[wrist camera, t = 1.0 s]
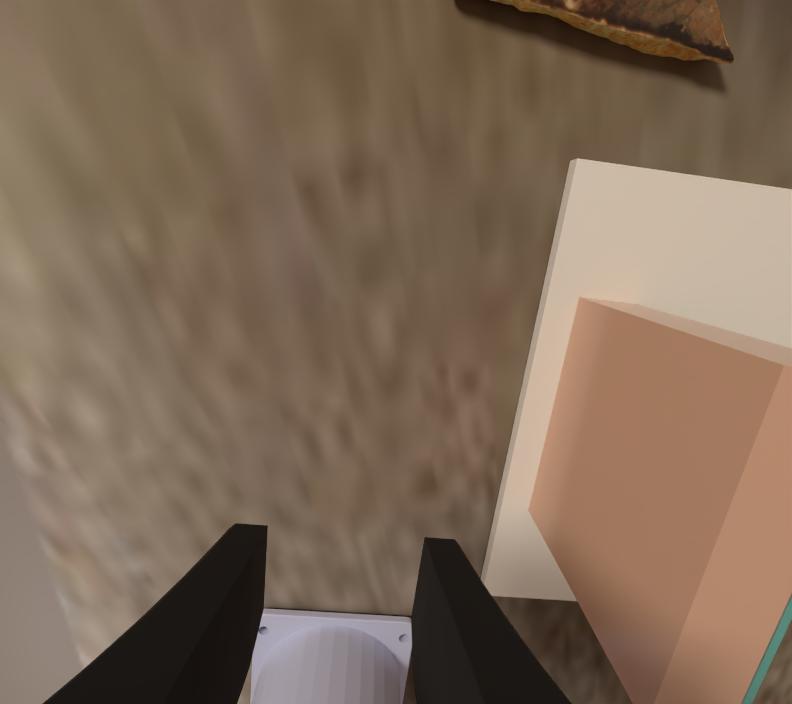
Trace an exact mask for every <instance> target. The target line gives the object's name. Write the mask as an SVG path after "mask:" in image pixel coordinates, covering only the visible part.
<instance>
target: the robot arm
mask: <svg viewBox="0 0 792 704" xmlns="http://www.w3.org/2000/svg"><path fill="white" fill-rule="evenodd" d="M267 527H268V526H264V525H250V524H234V525H233V526H232V527H230V528H229V529H228V530H227V531H226V533H225V534H224V535H223V536H222V537H221V538H220V539H219V540H218V541H217V542H216V543H215V544H214V546H213V547H212V548H211V549H210V550H209V551H208V552H207V553H206V554H205V555H204V556H203V557H202V558H201V559H200V560H199V561H198V562H197V563H196V564H195V565H194V566H193V567H192V568H191V569H190V571H189V572H188V573H187V574H186V575H185V576H184V577H183V578H182V579H181V580H180V581H179V582H178V583H177V584H176V585H174V586H173V587H172V588H171V589H170V590H169V591H168V592H167V593H166V594H165V595H164V596H163V597H162V598H161V599H160V600H159V601H158V602H157V603H156V604H155V605H154V606H153V607H152V608H151V609H150V610H149V611H148V612H147V613H146V614H145V615H144V616H142V617H141V618H140V619H139V620H138V621H137V622H136V623H135V624H134V625H133V626H132V627H130V628H129V629H128V630H127V631H126V632H125V633H124V634H123V635H122V636H120V637H119V638H118V639H117V640H116V641H115V642H114V643H113V644H112V645H110V646H109V647H108V648H107V649H106V650H105V651H104V652H103V653H101V654H100V655H99V656H98V657H97V658H96V659H95V660H94V661H93V662H91V663H90V664H89V665H88V666H87V667H86V668H85V669H83V670H82V671H81V672H80V673H79V674H78V675H76V676H75V677H74V678H73V679H72V680H70V681H69V682H68V683H67V684H66V685H64V686H63V687H62V688H61V689H60V690H58V691H57V692H56V693H55V694H54V695H52V696H51V697H50V698H49V699H48V700H46V701H45V702H44V703H43V704H237V702H238V699H239V696H240V693H241V691H242V688H243V685H244V682H245V679H246V676H247V673H248V670H249V666H250V663H251V659H252V678H251V702H250V704H403V698H404V692H405V686H406V680H407V674H408V669H409V663H410V657H411V651H412V656H413V677H414V685H415V693H416V701H417V704H572V703H571V702H570V701H569V700H568V699H567V697H566V696H565V695H564V694H563V692H562V691H561V690H560V689H559V687H558V686H557V685H556V683H555V682H554V681H553V680H552V678H551V677H550V676H549V674H548V673H547V672H546V671H545V669H544V668H543V667H542V666H541V664H540V663H539V662H538V660H537V659H536V658H535V656H534V655H533V654H532V652H531V651H530V650H529V648H528V647H527V646H526V644H525V643H524V641H523V640H522V639H521V637H520V636H519V634H518V633H517V632H516V630H515V629H514V627H513V626H512V625H511V623H510V622H509V620H508V619H507V618H506V616H505V615H504V613H503V612H502V610H501V609H500V608H499V606H498V605H497V603H496V602H495V600H494V599H493V597H492V596H491V594H490V593H489V591H488V590H487V588H486V587H485V585H484V584H483V582H482V581H481V579H480V577H479V576H478V574H477V573H476V571H475V570H474V568H473V567H472V565H471V563H470V562H469V560H468V559H467V557H466V555H465V554H464V552H463V551H462V549H461V547H460V546H459V544H458V543H457V542H456V541H455V540H454V539H440V538H427V537H425V538H424V544H423V550H422V557H421V563H420V569H419V575H418V581H417V587H416V593H415V599H414V605H413V611H412V617H411V618H409V617H401V616H384V615H367V614H350V613H333V612H316V611H300V610H283V609H264V589H265V568H266V548H267ZM263 626H264V627H267V628H264V627H263ZM404 634H405V635H404Z"/></svg>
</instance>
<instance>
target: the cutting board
mask: <svg viewBox="0 0 792 704" xmlns="http://www.w3.org/2000/svg"><path fill="white" fill-rule="evenodd" d="M579 297H583V298H591V299H600V300H608V301H617V302H625V303H633V304H638V305H642V306H645V307H649V308H652V309H656V310H659V311H663V312H666V313H670V314H673V315H677V316H680V317H684V318H687V319H691V320H694V321H698V322H701V323H705V324H708V325H712V326H715V327H719V328H722V329H726V330H729V331H733V332H736V333H740V334H743V335H747V336H750V337H754V338H757V339H761V340H764V341H768V342H771V343H775V344H778V345H781V346H785V347H788V348H792V189H785V188H778V187H771V186H764V185H757V184H750V183H744V182H737V181H730V180H723V179H716V178H709V177H702V176H695V175H688V174H681V173H675V172H668V171H661V170H654V169H647V168H640V167H633V166H626V165H619V164H612V163H606V162H599V161H592V160H585V159H578V158H577V159H574V160H571V161H570V164H569V169H568V174H567V178H566V183H565V188H564V192H563V197H562V202H561V206H560V211H559V216H558V220H557V225H556V230H555V234H554V239H553V244H552V248H551V253H550V258H549V262H548V267H547V272H546V276H545V281H544V286H543V290H542V295H541V300H540V304H539V309H538V314H537V318H536V323H535V328H534V332H533V337H532V342H531V346H530V351H529V356H528V360H527V365H526V370H525V374H524V379H523V384H522V388H521V393H520V397H519V402H518V407H517V411H516V416H515V421H514V425H513V430H512V435H511V439H510V444H509V449H508V453H507V458H506V463H505V467H504V472H503V477H502V481H501V486H500V491H499V495H498V500H497V505H496V509H495V514H494V519H493V523H492V528H491V533H490V537H489V542H488V547H487V551H486V556H485V561H484V565H483V570H482V575H481V581H482V582H483V584H484V585H485V587H486V588H487V590H488V591H489V593H490V594H491V596H503V597H518V598H534V599H550V600H565V601H577V600H576V598H575V596H574V594H573V592H572V590H571V589H570V587H569V585H568V583H567V581H566V579H565V578H564V576H563V574H562V572H561V570H560V568H559V566H558V565H557V563H556V561H555V559H554V557H553V555H552V553H551V552H550V550H549V548H548V546H547V544H546V542H545V540H544V539H543V537H542V535H541V533H540V531H539V529H538V528H537V526H536V524H535V522H534V520H533V518H532V516H531V515H530V513H529V511H528V509H529V505H530V501H531V497H532V492H533V488H534V484H535V480H536V476H537V472H538V467H539V463H540V459H541V455H542V451H543V446H544V442H545V438H546V434H547V430H548V425H549V421H550V417H551V413H552V409H553V404H554V400H555V396H556V392H557V388H558V383H559V379H560V375H561V371H562V367H563V363H564V358H565V354H566V350H567V346H568V342H569V337H570V333H571V329H572V325H573V321H574V316H575V312H576V308H577V304H578V300H579Z"/></svg>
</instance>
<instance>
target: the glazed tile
mask: <svg viewBox="0 0 792 704" xmlns="http://www.w3.org/2000/svg"><path fill="white" fill-rule="evenodd" d="M528 511H529V513H530V515H531V516H532V518H533V520H534V522H535V524H536V526H537V528H538V529H539V531H540V533H541V535H542V537H543V539H544V540H545V542H546V544H547V546H548V548H549V550H550V552H551V553H552V555H553V557H554V559H555V561H556V563H557V565H558V566H559V568H560V570H561V572H562V574H563V576H564V578H565V579H566V581H567V583H568V585H569V587H570V589H571V590H572V592H573V594H574V596H575V598H576V600H577V602H578V603H579V605H580V607H581V609H582V611H583V613H584V615H585V616H586V618H587V620H588V622H589V624H590V626H591V627H592V629H593V631H594V633H595V635H596V637H597V639H598V640H599V642H600V644H601V646H602V648H603V650H604V652H605V653H606V655H607V657H608V659H609V661H610V663H611V665H612V666H613V668H614V670H615V672H616V674H617V676H618V677H619V679H620V681H621V683H622V685H623V687H624V689H625V690H626V692H627V694H628V696H629V698H630V700H631V702H632V703H633V704H752V702H753V700H754V698H755V696H756V694H757V692H758V690H759V687H760V685H761V683H762V681H763V679H764V677H765V675H766V672H767V670H768V668H769V666H770V664H771V662H772V660H773V658H774V655H775V653H776V651H777V649H778V647H779V645H780V643H781V640H782V638H783V636H784V634H785V632H786V630H787V628H788V626H789V623H790V621H791V619H792V348H788V347H785V346H781V345H778V344H775V343H771V342H768V341H764V340H761V339H757V338H754V337H750V336H747V335H743V334H740V333H736V332H733V331H729V330H726V329H722V328H719V327H715V326H712V325H708V324H705V323H701V322H698V321H694V320H691V319H687V318H684V317H680V316H677V315H673V314H670V313H666V312H663V311H659V310H656V309H652V308H649V307H645V306H642V305H638V304H633V303H625V302H617V301H608V300H600V299H591V298H583V297H579V300H578V304H577V308H576V312H575V316H574V321H573V325H572V329H571V333H570V337H569V342H568V346H567V350H566V354H565V358H564V363H563V367H562V371H561V375H560V379H559V383H558V388H557V392H556V396H555V400H554V404H553V409H552V413H551V417H550V421H549V425H548V430H547V434H546V438H545V442H544V446H543V451H542V455H541V459H540V463H539V467H538V472H537V476H536V480H535V484H534V488H533V492H532V497H531V501H530V505H529V509H528Z"/></svg>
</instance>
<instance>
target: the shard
mask: <svg viewBox="0 0 792 704" xmlns="http://www.w3.org/2000/svg"><path fill="white" fill-rule="evenodd" d="M490 1H495V2H500V3H504V4H508V5H513V6H514V7H516V8H517V9H518V10H520V11H523V12H537V13H542V14H548V15H551V16H552V17H557V18H559V19H560V20H562V21H564V22H566V23H568V24H570V25H572V26H573V27H575V28H578V29H581V30H585V31H587V32H589V33H592V34H594V35H597V36H600V37H605V38H607V39H609V40H610V41H613V42H615V43H618V44H622V45H627V46H629V47H630V48H632V49H636V50H638V51H640V52H642V53H647V54H652V55H657V56H660V57H668V56H670V57H675V58H679V59H680V60H692V61H693V60H702V59H708V60H711V61H715V62H718V63H732V61H733V60H734V58H733V54H732V53H731V51H730V49H729V46H728V43H727V41H726V39H725V35H724V30H723V24H722V22H721V19H720V15H719V8H718V6H717V3H716V1H715V0H490Z"/></svg>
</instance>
